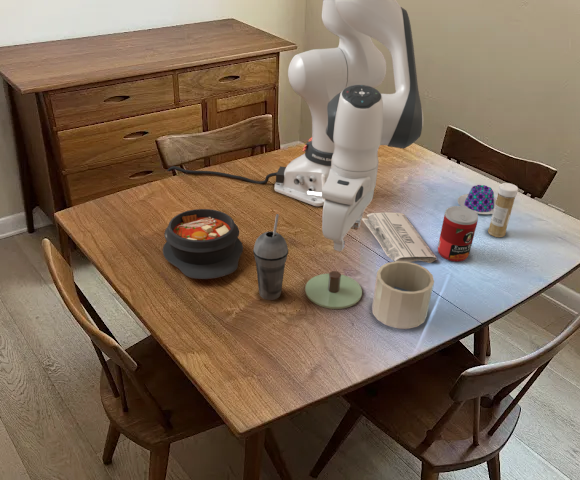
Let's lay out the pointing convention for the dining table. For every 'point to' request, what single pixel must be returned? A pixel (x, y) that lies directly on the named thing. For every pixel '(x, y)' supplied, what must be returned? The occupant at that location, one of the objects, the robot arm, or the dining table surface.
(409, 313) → the jar
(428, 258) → the newspaper
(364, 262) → the dining table surface
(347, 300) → the lid
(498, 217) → the sprinkles bottle
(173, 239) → the casserole
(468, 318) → the dining table surface
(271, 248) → the beverage cup
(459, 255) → the canned food
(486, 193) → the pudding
